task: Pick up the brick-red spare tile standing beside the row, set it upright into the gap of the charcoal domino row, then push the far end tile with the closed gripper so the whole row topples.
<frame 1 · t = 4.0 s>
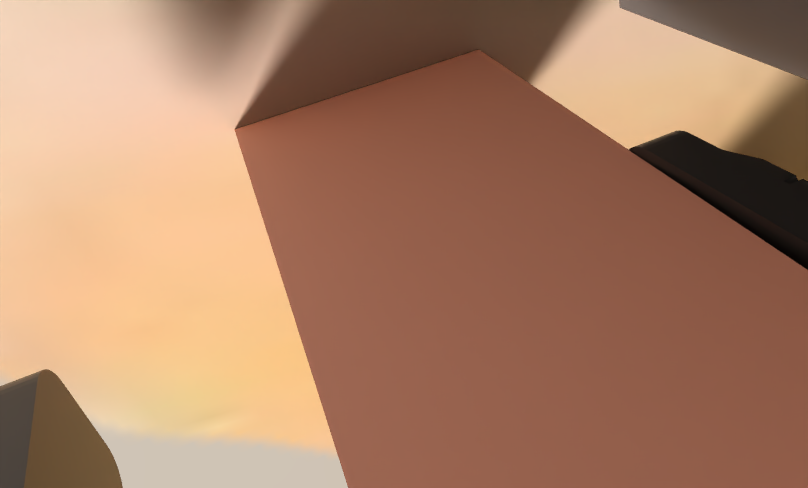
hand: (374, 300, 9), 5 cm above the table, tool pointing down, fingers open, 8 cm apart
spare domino: (371, 134, 13), on the table, touching gripper
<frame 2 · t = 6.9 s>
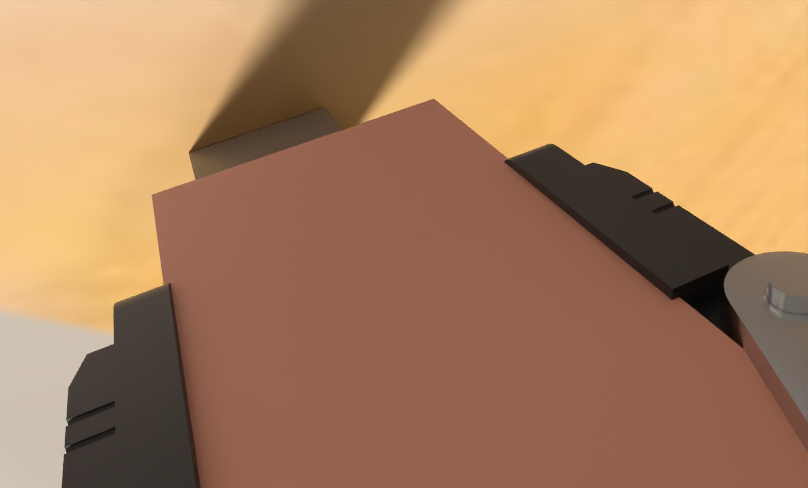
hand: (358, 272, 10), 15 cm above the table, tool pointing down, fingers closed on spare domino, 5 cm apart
domino 1: (266, 154, 24), on the table
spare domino: (314, 194, 12), point 12 cm above the table, touching gripper
when the fingers open (3 cm above the table, at t = 9.4 s): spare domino stays where it is, on the table.
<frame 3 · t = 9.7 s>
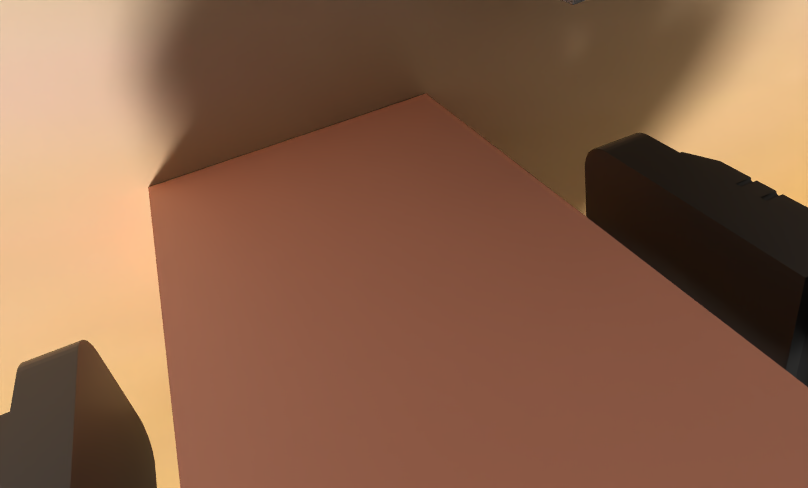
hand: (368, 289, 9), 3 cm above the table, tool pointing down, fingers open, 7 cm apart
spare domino: (308, 188, 12), on the table
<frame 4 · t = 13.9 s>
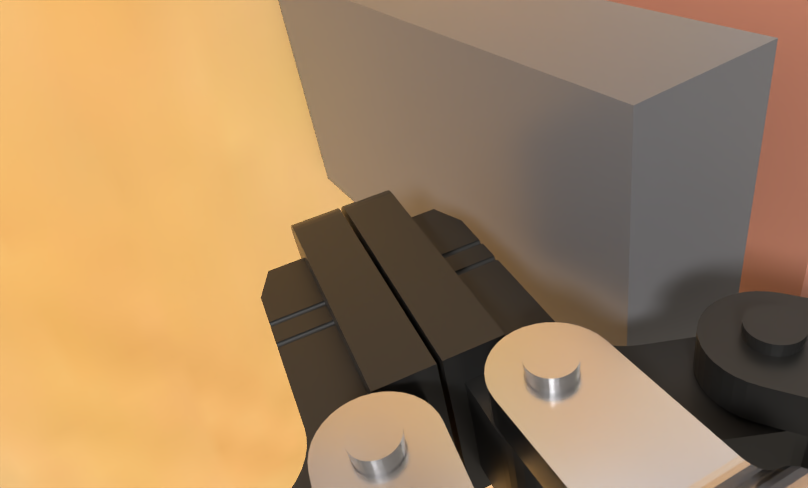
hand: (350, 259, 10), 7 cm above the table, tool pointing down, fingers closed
domino 1: (340, 70, 15), on the table, tilted 9°, touching gripper
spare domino: (507, 15, 16), on the table
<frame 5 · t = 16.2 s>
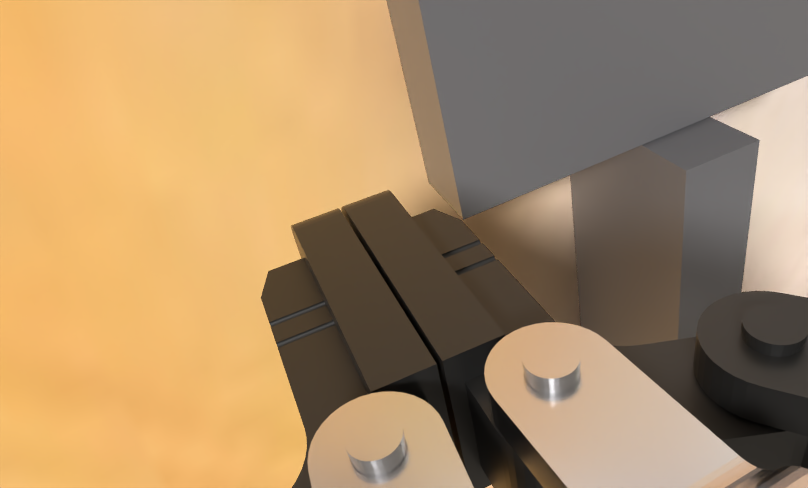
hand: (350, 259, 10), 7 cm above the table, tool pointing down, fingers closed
domino 1: (424, 104, 14), point 2 cm above the table, tilted 90°, touching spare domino
domino 2: (650, 117, 17), point 2 cm above the table, tilted 90°
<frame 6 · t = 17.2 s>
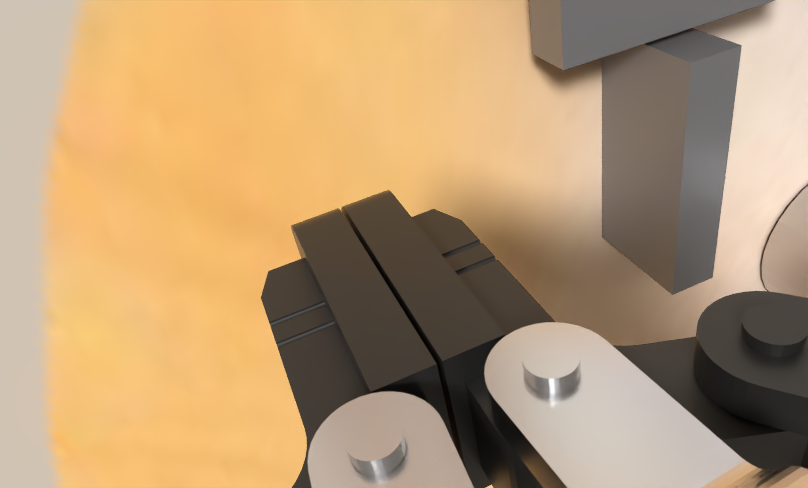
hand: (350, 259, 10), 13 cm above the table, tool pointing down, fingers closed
domino 2: (665, 35, 24), point 2 cm above the table, tilted 90°
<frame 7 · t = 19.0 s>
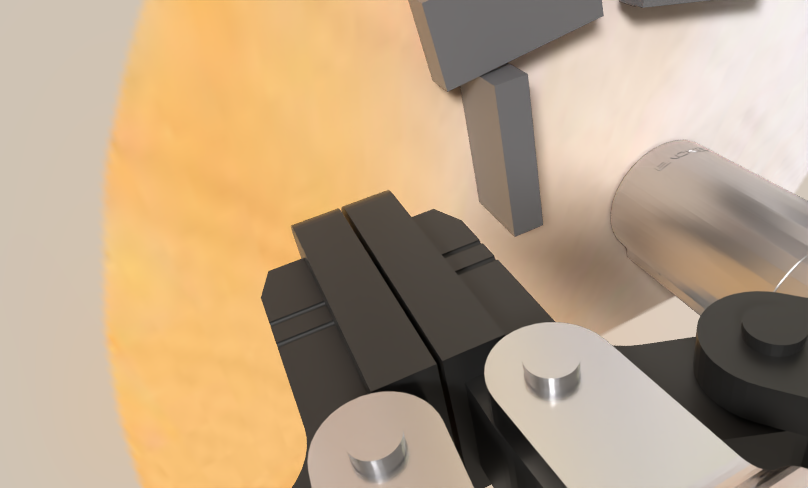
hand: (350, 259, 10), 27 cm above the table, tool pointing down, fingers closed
domino 1: (427, 44, 35), point 2 cm above the table, tilted 90°, touching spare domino
domino 2: (489, 67, 37), point 2 cm above the table, tilted 90°
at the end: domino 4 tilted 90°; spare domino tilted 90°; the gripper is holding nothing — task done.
